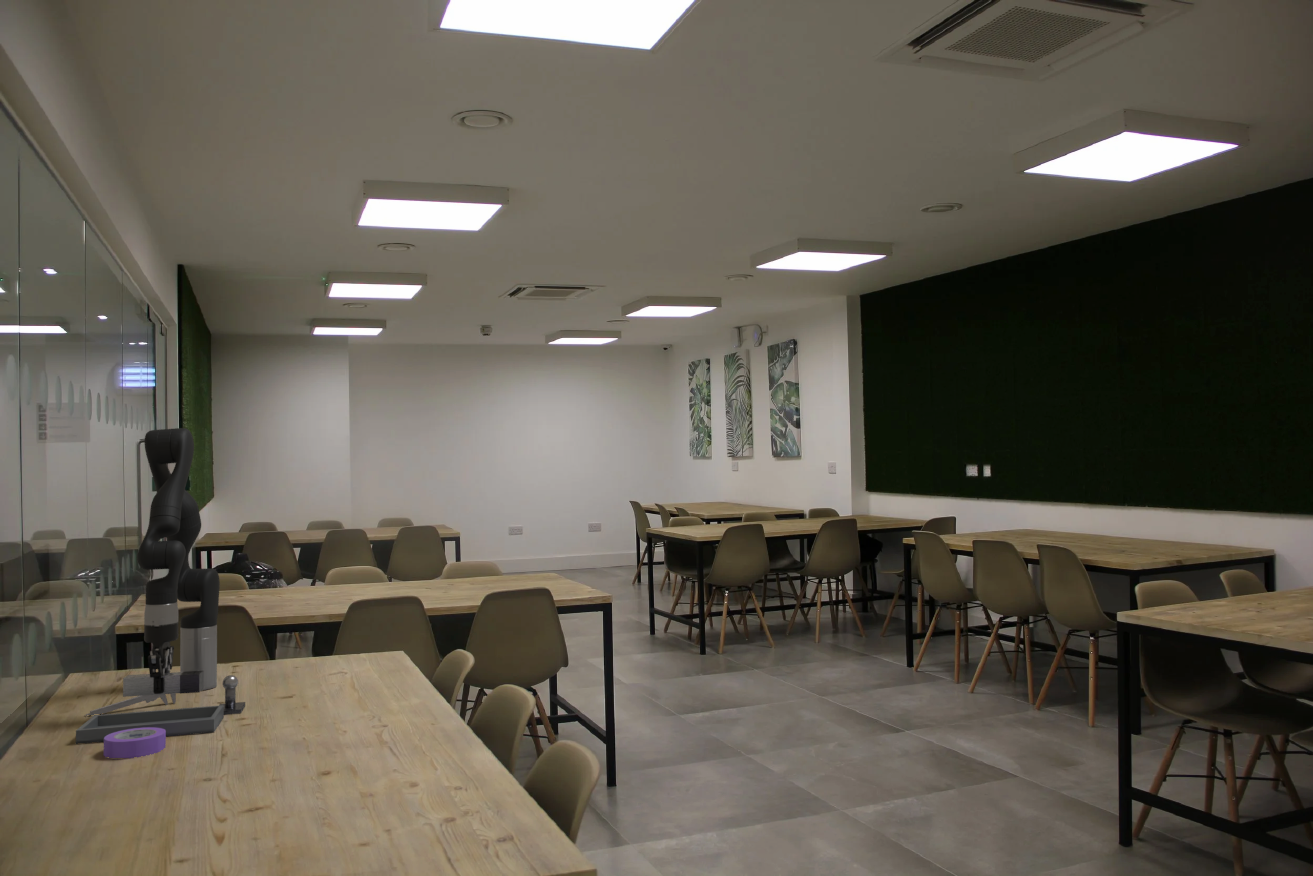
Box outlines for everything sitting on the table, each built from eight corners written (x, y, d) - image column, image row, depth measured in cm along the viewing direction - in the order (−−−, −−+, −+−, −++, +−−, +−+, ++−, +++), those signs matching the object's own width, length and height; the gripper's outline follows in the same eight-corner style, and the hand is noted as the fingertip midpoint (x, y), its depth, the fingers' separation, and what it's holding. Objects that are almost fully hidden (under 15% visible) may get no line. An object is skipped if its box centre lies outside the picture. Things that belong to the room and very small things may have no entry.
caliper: (174, 704, 244) (175, 679, 244) (175, 704, 243) (176, 680, 243) (84, 717, 231) (84, 692, 231) (84, 718, 230) (84, 692, 230)
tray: (94, 728, 220) (94, 715, 220) (223, 717, 228) (223, 705, 228) (75, 744, 206) (75, 730, 206) (213, 732, 214) (214, 719, 214)
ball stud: (219, 707, 237) (220, 673, 238) (245, 705, 239) (245, 671, 239) (214, 715, 230) (214, 679, 230) (240, 713, 231) (241, 677, 232)
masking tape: (149, 741, 209) (149, 723, 209) (176, 749, 202) (176, 731, 202) (93, 754, 199) (93, 736, 199) (119, 763, 192) (119, 744, 193)
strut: (128, 693, 231) (128, 674, 231) (203, 688, 235) (203, 670, 235) (122, 697, 226) (122, 678, 226) (199, 692, 230) (199, 674, 230)
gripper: (153, 618, 237) (152, 686, 236) (135, 626, 223) (135, 699, 223) (185, 616, 239) (185, 684, 238) (170, 625, 225) (169, 697, 224)
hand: (161, 691), depth 230 cm, fingers closed on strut, 3 cm apart
